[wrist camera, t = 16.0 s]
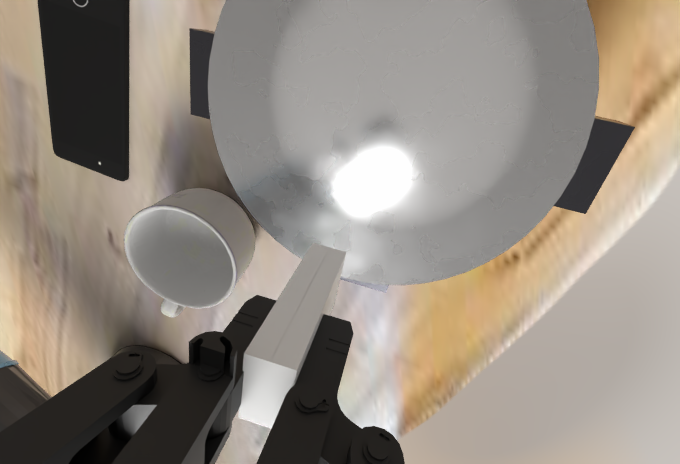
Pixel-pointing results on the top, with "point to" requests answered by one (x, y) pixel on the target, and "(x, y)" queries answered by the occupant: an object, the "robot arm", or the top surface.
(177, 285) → the teacup
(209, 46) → the cooker
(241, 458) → the top surface
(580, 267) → the top surface
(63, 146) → the cell phone
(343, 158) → the lid
